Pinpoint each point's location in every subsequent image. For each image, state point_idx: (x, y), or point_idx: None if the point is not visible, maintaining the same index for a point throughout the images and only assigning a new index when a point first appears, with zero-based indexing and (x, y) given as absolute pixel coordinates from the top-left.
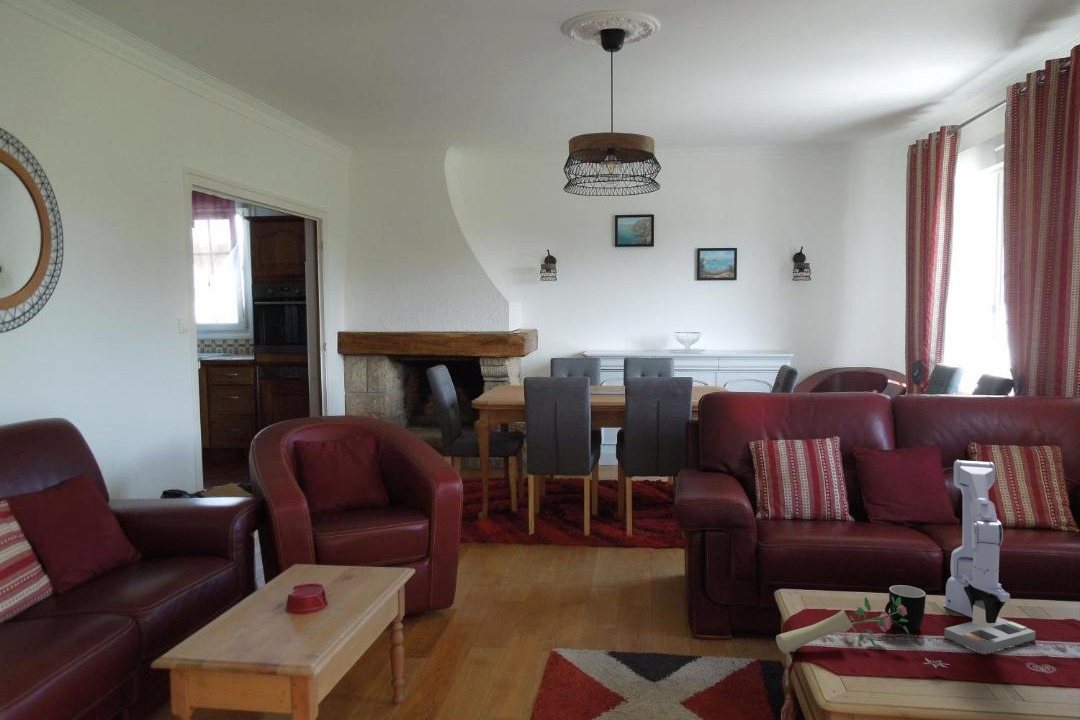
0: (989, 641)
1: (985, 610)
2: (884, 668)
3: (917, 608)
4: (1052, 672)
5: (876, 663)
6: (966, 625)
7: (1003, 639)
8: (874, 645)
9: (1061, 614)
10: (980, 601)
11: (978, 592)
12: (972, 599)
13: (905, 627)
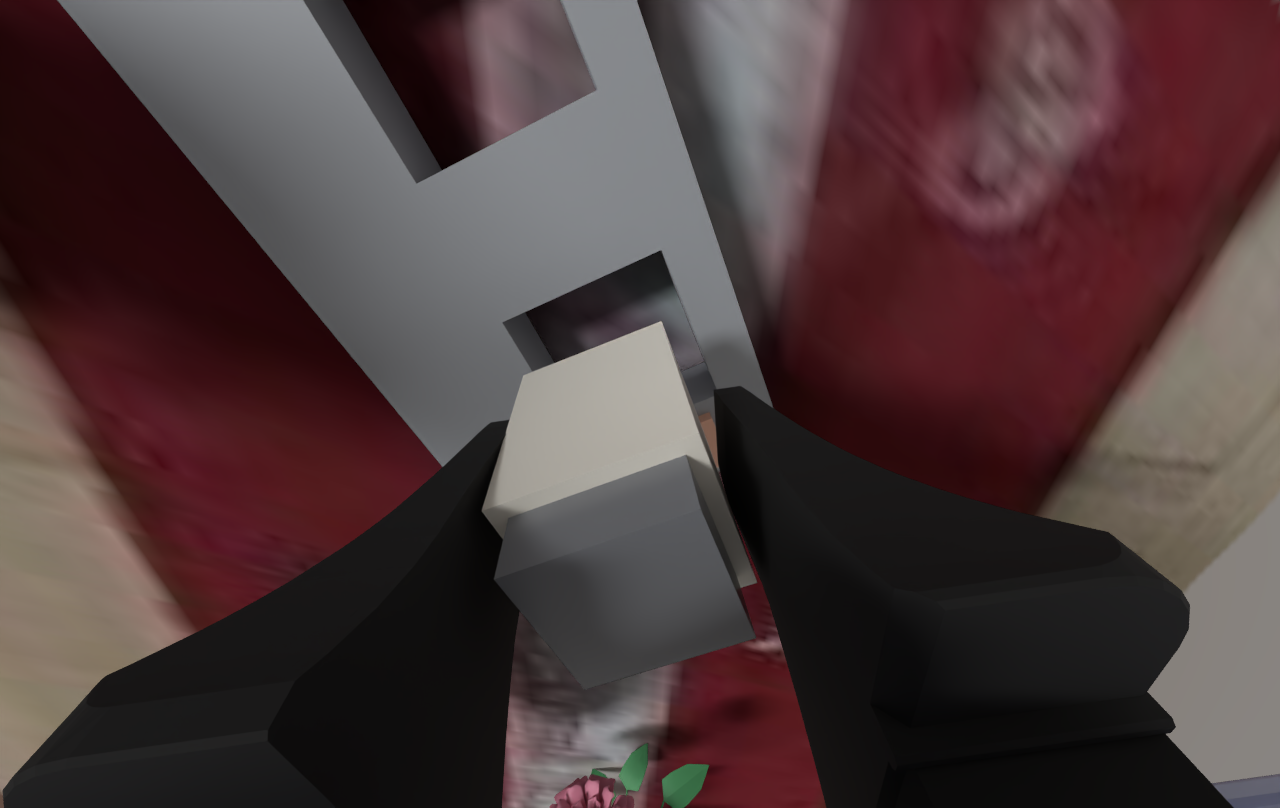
0: (734, 378)
1: (767, 592)
2: (806, 753)
3: None
4: (1122, 73)
5: (768, 761)
6: (425, 394)
7: (710, 240)
8: (644, 753)
9: None
10: (606, 646)
11: (443, 758)
12: (507, 684)
13: (682, 802)
